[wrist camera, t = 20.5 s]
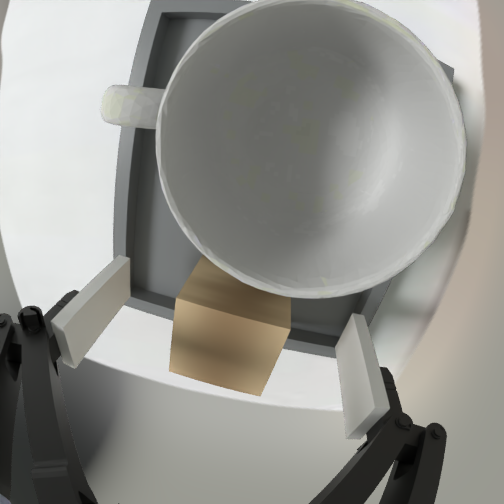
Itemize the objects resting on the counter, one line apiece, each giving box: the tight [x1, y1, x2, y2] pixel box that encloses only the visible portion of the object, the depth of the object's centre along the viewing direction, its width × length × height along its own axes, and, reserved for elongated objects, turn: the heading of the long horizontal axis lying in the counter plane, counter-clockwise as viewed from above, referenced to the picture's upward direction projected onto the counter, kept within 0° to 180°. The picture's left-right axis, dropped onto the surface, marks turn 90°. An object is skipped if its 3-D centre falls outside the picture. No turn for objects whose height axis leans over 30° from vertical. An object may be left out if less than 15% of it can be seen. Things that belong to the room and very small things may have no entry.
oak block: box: [169, 255, 291, 396], centre depth 16 cm, size 5×5×7 cm
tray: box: [113, 0, 454, 358], centre depth 16 cm, size 21×18×2 cm
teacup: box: [101, 0, 467, 299], centre depth 11 cm, size 14×11×8 cm
